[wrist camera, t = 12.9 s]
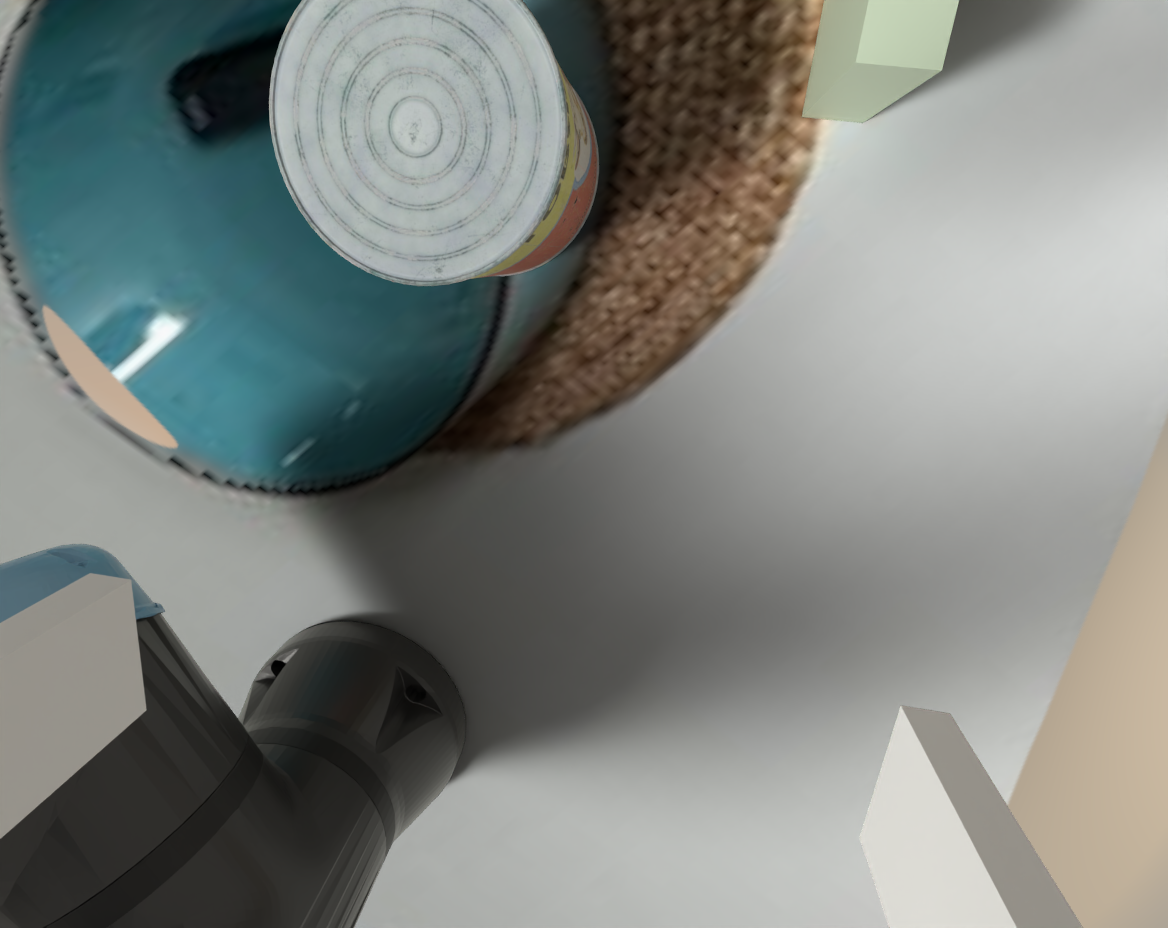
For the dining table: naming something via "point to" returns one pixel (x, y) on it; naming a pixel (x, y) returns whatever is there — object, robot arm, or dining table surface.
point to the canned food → (431, 137)
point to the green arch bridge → (875, 54)
